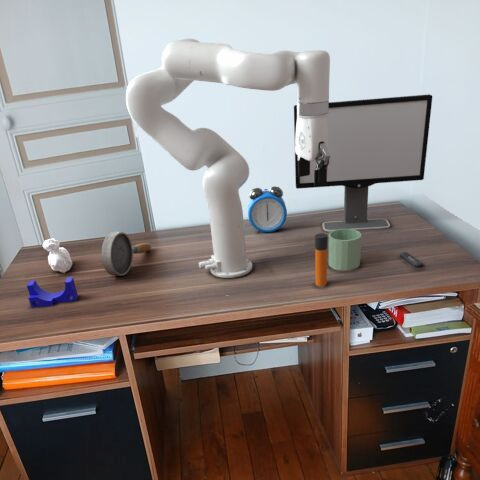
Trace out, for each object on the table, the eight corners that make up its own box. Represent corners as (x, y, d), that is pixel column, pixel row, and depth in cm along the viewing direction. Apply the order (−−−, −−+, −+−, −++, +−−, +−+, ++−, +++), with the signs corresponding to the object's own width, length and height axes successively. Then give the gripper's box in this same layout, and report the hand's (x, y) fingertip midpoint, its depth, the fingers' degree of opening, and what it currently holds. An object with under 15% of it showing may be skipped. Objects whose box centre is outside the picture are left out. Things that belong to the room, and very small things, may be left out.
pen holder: (338, 274, 142) (338, 243, 137) (322, 262, 150) (322, 232, 145) (366, 267, 144) (367, 236, 140) (349, 256, 152) (350, 226, 147)
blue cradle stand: (31, 307, 140) (24, 288, 137) (36, 299, 144) (30, 280, 141) (74, 303, 140) (68, 284, 137) (78, 296, 144) (72, 277, 141)
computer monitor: (297, 233, 171) (294, 107, 150) (295, 224, 178) (292, 103, 158) (420, 226, 168) (434, 96, 148) (414, 217, 175) (426, 92, 155)
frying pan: (142, 226, 167) (99, 233, 144) (151, 227, 166) (109, 234, 143) (144, 265, 171) (102, 278, 148) (152, 266, 170) (111, 279, 147)
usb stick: (398, 257, 149) (399, 252, 148) (406, 255, 149) (407, 251, 148) (415, 270, 141) (415, 265, 140) (423, 268, 141) (424, 263, 140)
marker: (318, 289, 136) (318, 238, 128) (313, 284, 138) (312, 234, 131) (329, 286, 136) (329, 236, 129) (323, 281, 139) (323, 232, 132)
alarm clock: (249, 234, 174) (246, 191, 166) (249, 228, 179) (246, 186, 171) (287, 231, 173) (286, 188, 166) (285, 225, 179) (284, 183, 171)
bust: (66, 267, 168) (38, 244, 163) (81, 252, 166) (53, 228, 161) (59, 283, 157) (28, 259, 153) (75, 267, 155) (44, 242, 150)
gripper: (284, 106, 127) (285, 174, 136) (314, 116, 113) (313, 191, 122) (311, 103, 129) (310, 170, 138) (344, 112, 114) (341, 187, 123)
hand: (311, 180), depth 130 cm, fingers open, 9 cm apart
